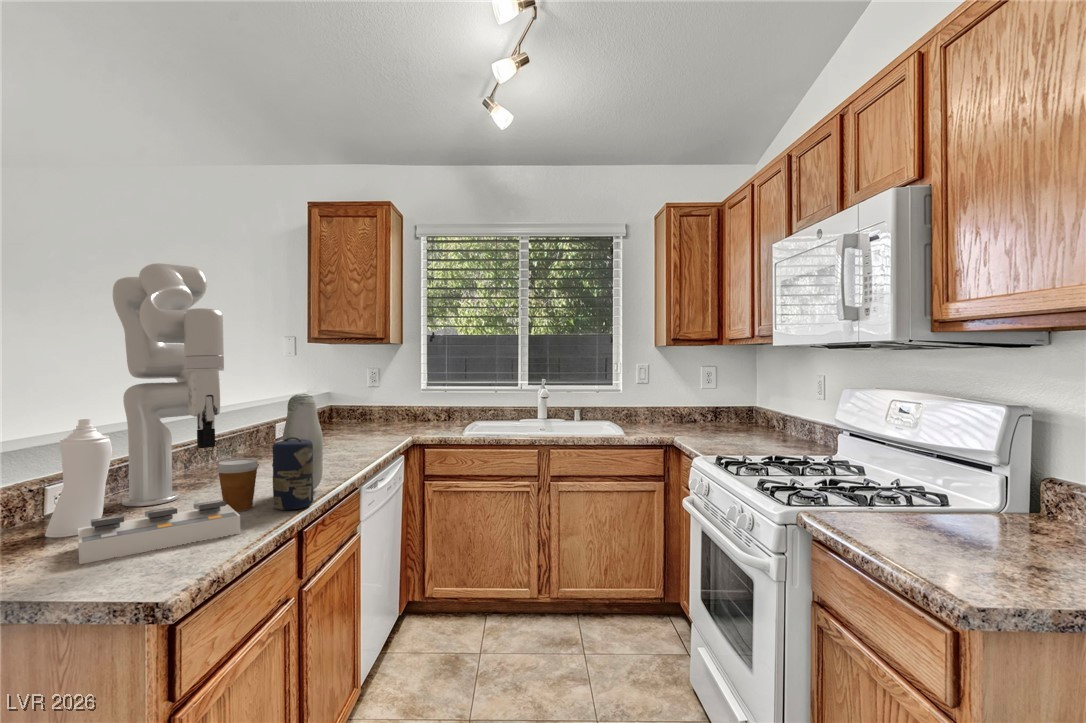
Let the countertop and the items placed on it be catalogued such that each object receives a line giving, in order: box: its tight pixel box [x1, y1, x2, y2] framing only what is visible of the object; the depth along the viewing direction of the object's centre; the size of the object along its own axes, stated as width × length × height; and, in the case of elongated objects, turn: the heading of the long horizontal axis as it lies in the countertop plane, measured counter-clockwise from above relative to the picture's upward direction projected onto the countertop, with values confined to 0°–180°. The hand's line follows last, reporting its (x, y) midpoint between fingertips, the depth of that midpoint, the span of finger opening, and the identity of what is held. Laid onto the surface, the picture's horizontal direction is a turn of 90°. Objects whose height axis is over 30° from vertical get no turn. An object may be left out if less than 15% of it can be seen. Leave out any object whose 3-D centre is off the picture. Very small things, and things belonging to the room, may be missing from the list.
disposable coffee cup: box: [216, 457, 260, 512], centre depth 142 cm, size 10×10×12 cm
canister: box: [271, 437, 314, 511], centre depth 143 cm, size 10×10×18 cm
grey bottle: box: [282, 393, 324, 491], centre depth 158 cm, size 10×10×28 cm
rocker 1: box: [91, 514, 125, 527], centre depth 113 cm, size 7×5×1 cm
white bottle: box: [44, 418, 114, 538], centre depth 124 cm, size 12×11×25 cm
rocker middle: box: [144, 506, 178, 518], centre depth 119 cm, size 7×5×1 cm
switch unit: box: [77, 505, 241, 565], centre depth 117 cm, size 12×27×5 cm, turn 131°
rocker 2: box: [193, 499, 226, 510], centre depth 124 cm, size 7×5×1 cm
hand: (206, 447), depth 124 cm, fingers closed
